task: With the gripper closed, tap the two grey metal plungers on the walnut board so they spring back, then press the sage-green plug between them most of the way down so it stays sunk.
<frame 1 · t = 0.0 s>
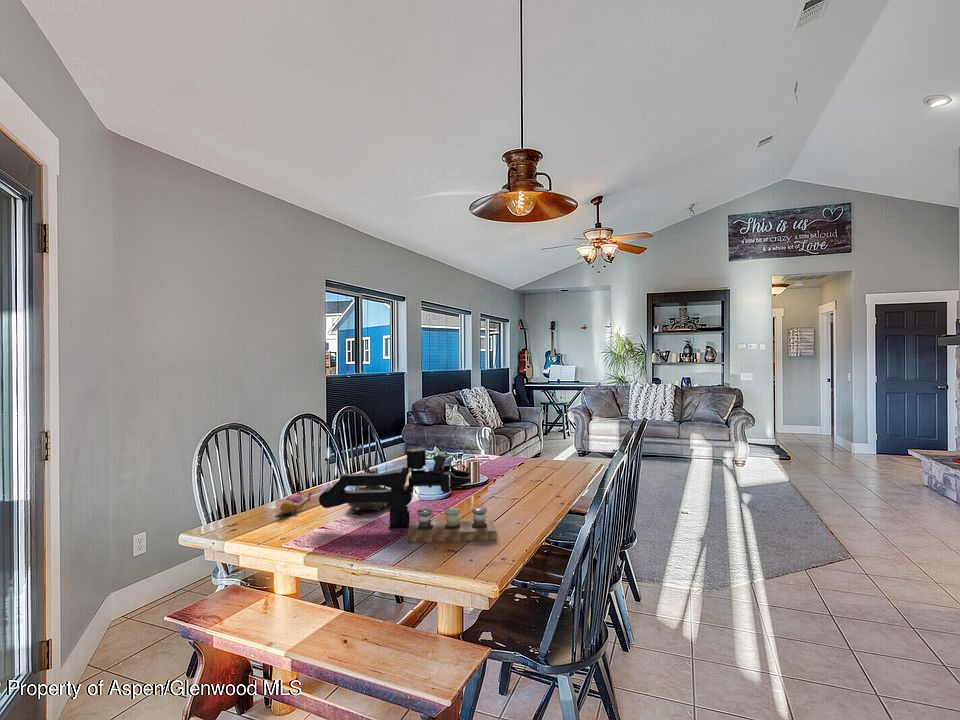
hand: (470, 477, 188), 17 cm above the table, tool horizontal, fingers open, 9 cm apart
diorama: (373, 506, 213), on the table
walnut board: (452, 535, 176), on the table
plunger 2: (479, 516, 176), point 6 cm above the table, slide at 0.0 cm
sage plug: (452, 517, 176), point 6 cm above the table, slide at 0.0 cm
figurine: (294, 510, 211), on the table
plunger 1: (425, 517, 175), point 6 cm above the table, slide at 0.0 cm
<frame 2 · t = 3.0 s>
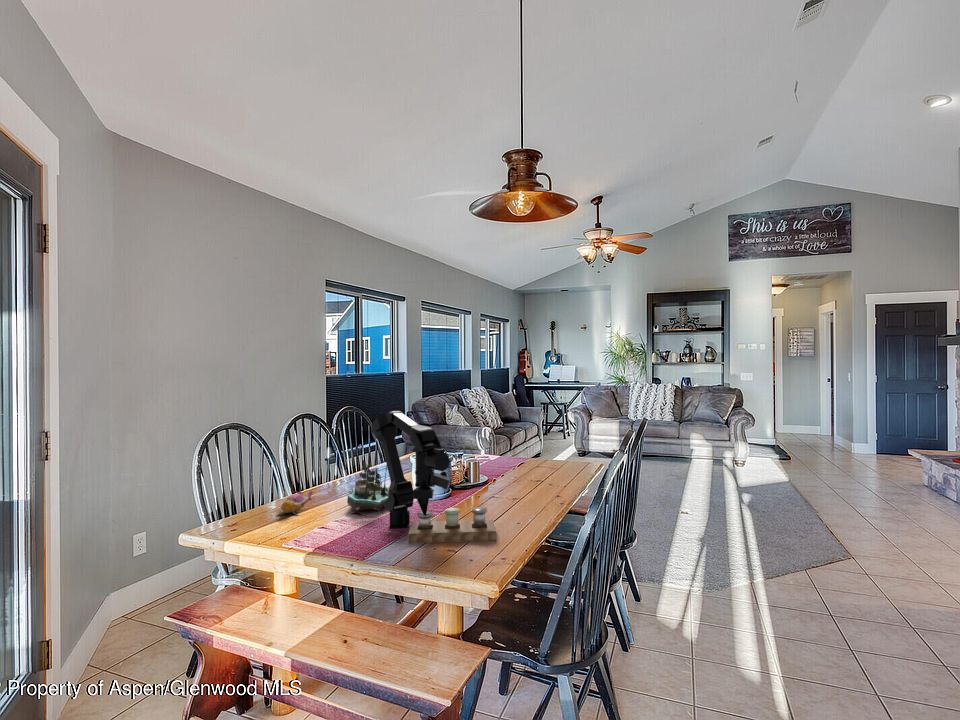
hand: (424, 513, 175), 8 cm above the table, tool pointing down, fingers closed, pressing on plunger 1
plunger 1: (425, 520, 175), point 5 cm above the table, slide at 0.9 cm, touching gripper
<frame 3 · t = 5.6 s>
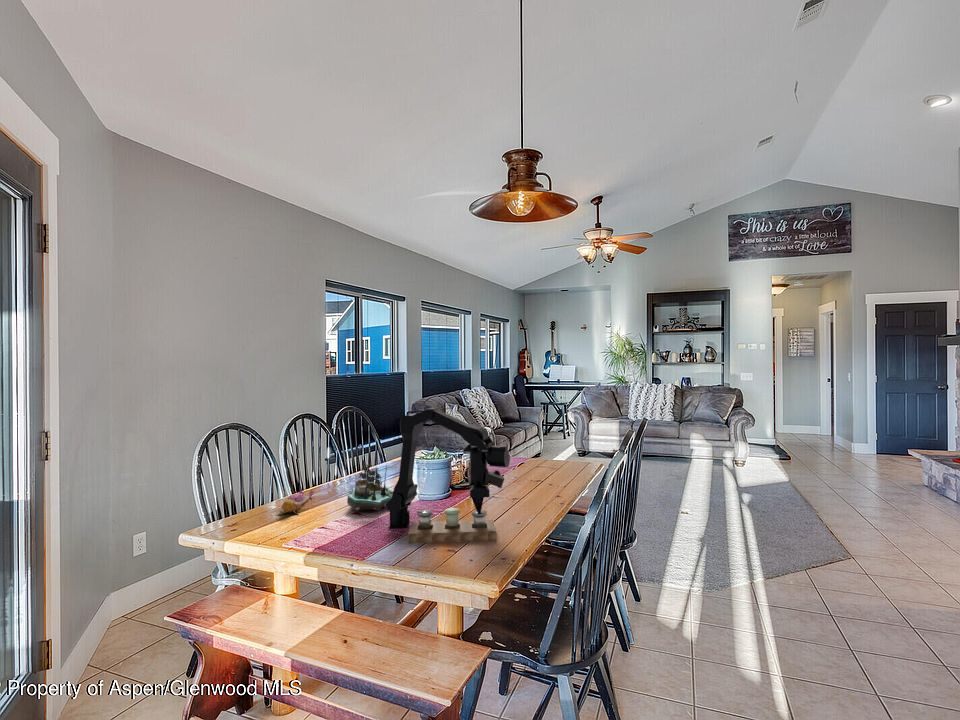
hand: (479, 512, 176), 8 cm above the table, tool pointing down, fingers closed, pressing on plunger 2
plunger 2: (479, 519, 176), point 5 cm above the table, slide at 1.0 cm, touching gripper
plunger 1: (425, 518, 175), point 6 cm above the table, slide at 0.4 cm
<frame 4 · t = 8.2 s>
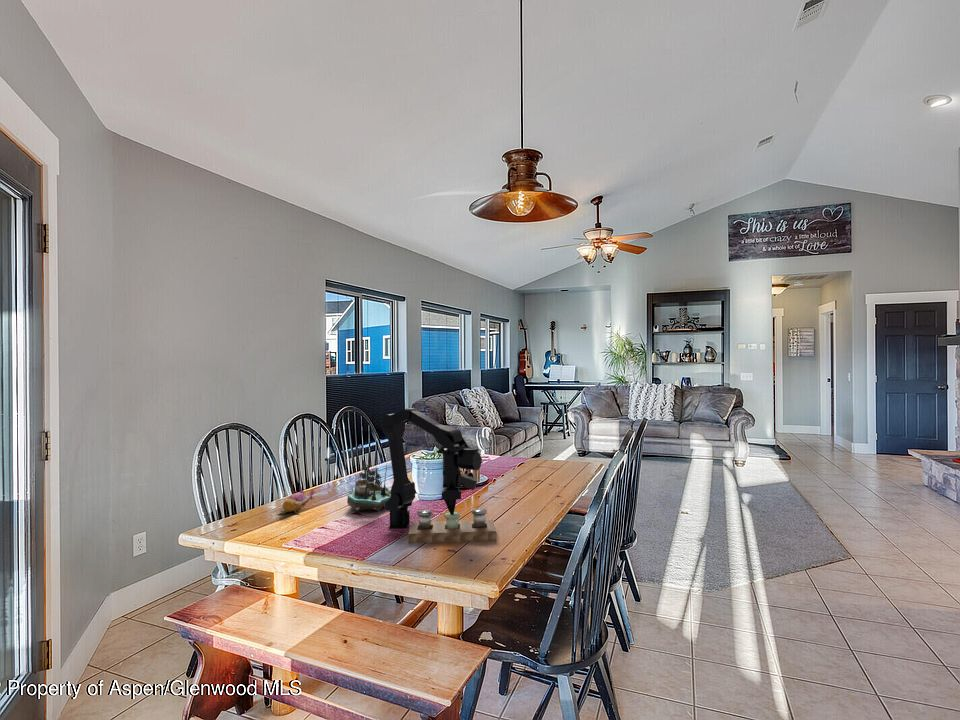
hand: (452, 514, 176), 7 cm above the table, tool pointing down, fingers closed, pressing on sage plug
plunger 2: (479, 517, 176), point 6 cm above the table, slide at 0.4 cm
sage plug: (452, 521, 176), point 5 cm above the table, slide at 1.4 cm, touching gripper
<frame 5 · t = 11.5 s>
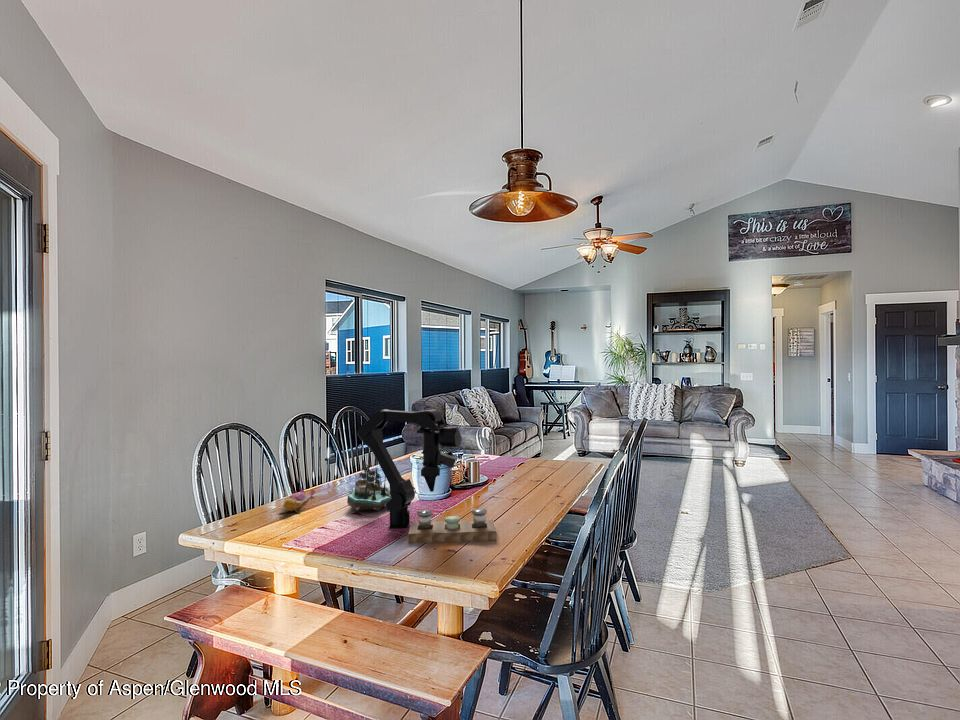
hand: (431, 491, 183), 13 cm above the table, tool pointing down, fingers closed
sage plug: (452, 525, 176), point 3 cm above the table, slide at 2.8 cm
at the end: sage plug slide at 2.8 cm; plunger 1 slide at 0.4 cm; plunger 2 slide at 0.4 cm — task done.
